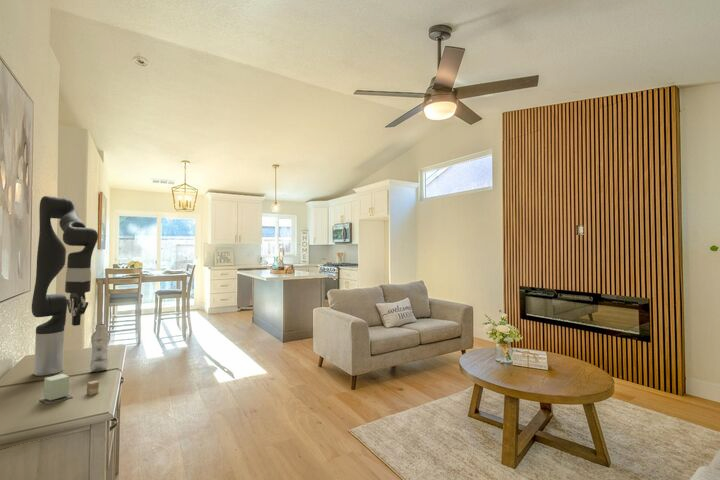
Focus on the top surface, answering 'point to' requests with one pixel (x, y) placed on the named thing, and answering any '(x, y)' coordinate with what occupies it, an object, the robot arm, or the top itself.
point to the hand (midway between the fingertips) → (75, 325)
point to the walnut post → (55, 399)
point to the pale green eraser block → (56, 386)
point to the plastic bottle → (99, 348)
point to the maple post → (92, 387)
